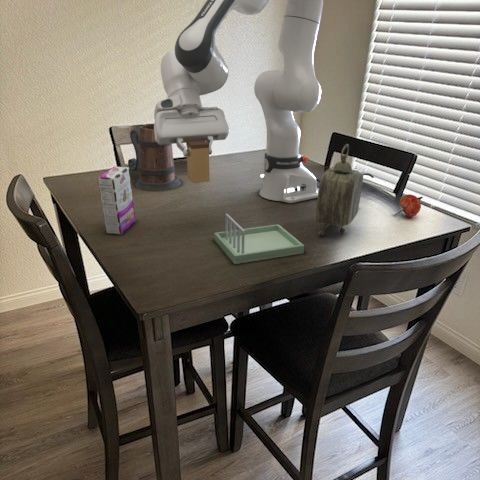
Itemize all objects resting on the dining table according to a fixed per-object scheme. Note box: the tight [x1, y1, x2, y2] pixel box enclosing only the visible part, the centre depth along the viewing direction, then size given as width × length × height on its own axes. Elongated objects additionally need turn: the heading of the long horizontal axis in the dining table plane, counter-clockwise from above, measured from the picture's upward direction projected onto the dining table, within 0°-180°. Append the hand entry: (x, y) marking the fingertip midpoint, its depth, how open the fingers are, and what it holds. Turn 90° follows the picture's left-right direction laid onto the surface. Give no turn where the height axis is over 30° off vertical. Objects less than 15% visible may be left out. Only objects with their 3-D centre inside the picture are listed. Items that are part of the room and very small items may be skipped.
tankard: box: [127, 124, 182, 192], centre depth 174 cm, size 24×17×20 cm
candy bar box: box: [97, 165, 136, 235], centre depth 137 cm, size 11×5×16 cm, turn 168°
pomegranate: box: [393, 193, 424, 218], centre depth 153 cm, size 7×7×10 cm
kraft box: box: [185, 140, 211, 184], centre depth 129 cm, size 5×5×10 cm
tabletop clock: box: [315, 143, 364, 237], centre depth 135 cm, size 14×9×25 cm, turn 155°
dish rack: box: [213, 213, 305, 265], centre depth 130 cm, size 20×16×8 cm
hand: (198, 154), depth 128 cm, fingers closed on kraft box, 5 cm apart
